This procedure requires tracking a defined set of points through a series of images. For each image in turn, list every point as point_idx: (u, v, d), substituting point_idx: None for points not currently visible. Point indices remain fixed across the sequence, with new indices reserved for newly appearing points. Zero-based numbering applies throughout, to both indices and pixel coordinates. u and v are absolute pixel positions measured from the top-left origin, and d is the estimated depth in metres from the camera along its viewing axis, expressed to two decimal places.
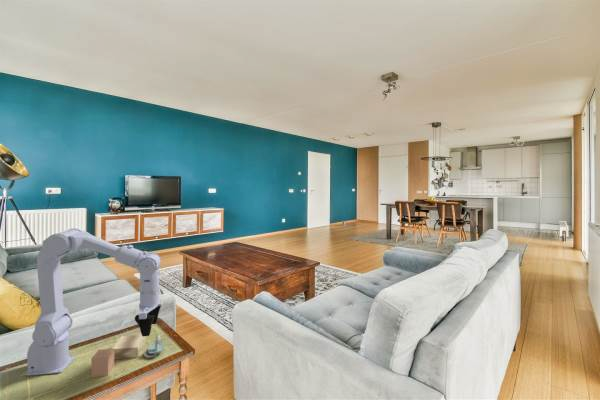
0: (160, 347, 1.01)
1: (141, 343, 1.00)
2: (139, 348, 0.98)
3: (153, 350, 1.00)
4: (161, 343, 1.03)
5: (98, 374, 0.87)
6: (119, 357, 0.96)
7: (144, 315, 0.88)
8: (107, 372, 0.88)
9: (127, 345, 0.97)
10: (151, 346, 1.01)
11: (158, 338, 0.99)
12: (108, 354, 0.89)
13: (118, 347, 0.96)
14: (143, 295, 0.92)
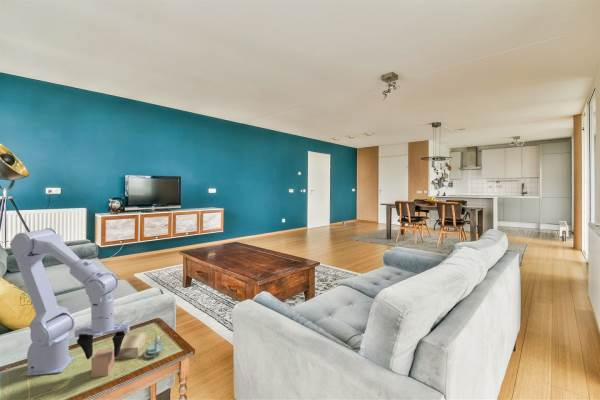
0: (159, 347, 1.01)
1: (141, 343, 1.00)
2: (139, 348, 0.98)
3: (152, 350, 0.99)
4: (160, 343, 1.03)
5: (98, 374, 0.87)
6: (119, 357, 0.96)
7: None
8: (107, 372, 0.88)
9: (127, 345, 0.97)
10: (150, 346, 1.01)
11: (157, 338, 0.99)
12: (108, 354, 0.89)
13: None
14: None
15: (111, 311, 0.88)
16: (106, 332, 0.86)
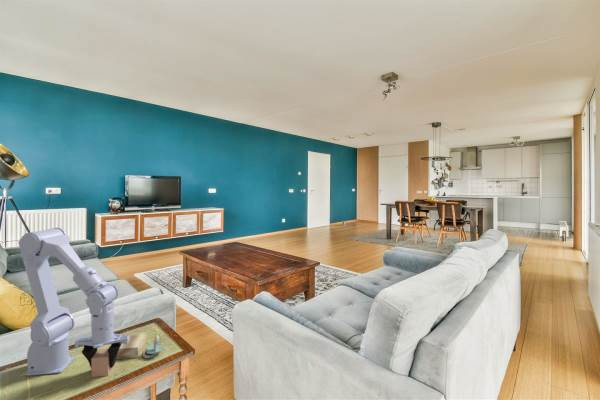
0: (159, 347, 1.01)
1: (141, 343, 1.00)
2: (139, 348, 0.98)
3: (152, 350, 0.99)
4: (160, 343, 1.03)
5: (98, 374, 0.87)
6: (119, 357, 0.96)
7: None
8: (107, 372, 0.88)
9: (127, 345, 0.97)
10: (150, 346, 1.01)
11: (157, 338, 0.99)
12: (108, 354, 0.89)
13: None
14: None
15: (111, 322, 0.88)
16: (106, 343, 0.87)
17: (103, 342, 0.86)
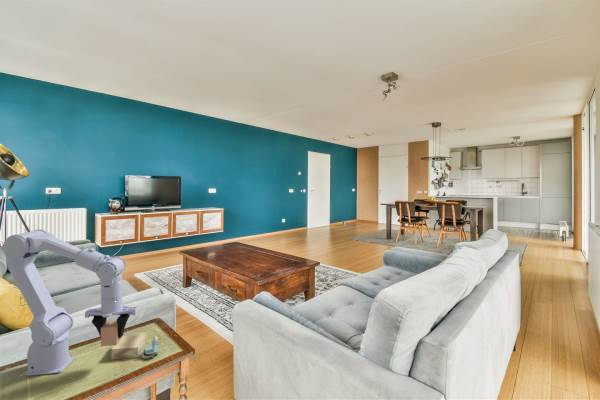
0: (157, 348, 1.01)
1: (141, 343, 1.00)
2: (139, 348, 0.98)
3: (150, 351, 0.99)
4: (158, 344, 1.02)
5: (107, 343, 0.90)
6: (119, 357, 0.96)
7: None
8: (116, 341, 0.90)
9: (127, 345, 0.97)
10: (148, 347, 1.01)
11: (155, 339, 0.99)
12: (117, 324, 0.91)
13: (118, 347, 0.96)
14: None
15: (121, 292, 0.91)
16: (115, 313, 0.89)
17: (112, 312, 0.89)
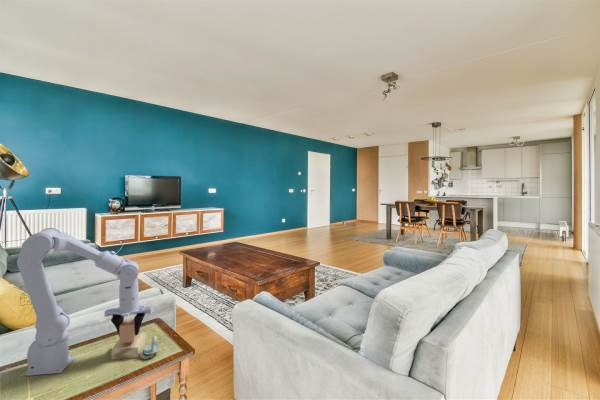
0: (156, 348, 1.01)
1: (141, 343, 1.00)
2: (139, 348, 0.98)
3: (149, 351, 0.99)
4: (157, 344, 1.02)
5: (125, 340, 0.97)
6: (119, 357, 0.96)
7: None
8: (133, 338, 0.98)
9: (127, 345, 0.97)
10: (147, 347, 1.01)
11: (154, 339, 0.99)
12: (134, 323, 0.99)
13: (118, 347, 0.96)
14: None
15: (138, 292, 1.00)
16: (132, 312, 0.97)
17: (130, 311, 0.97)
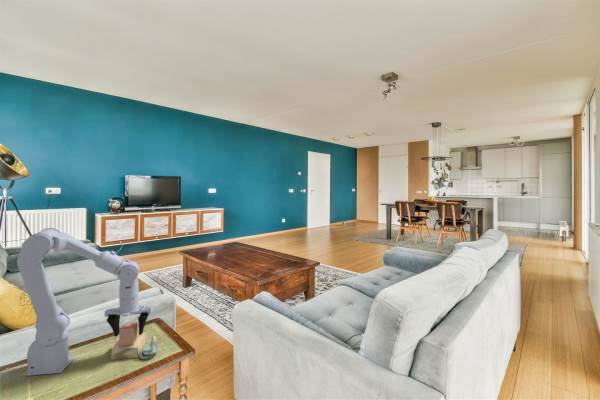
0: (156, 348, 1.01)
1: (141, 343, 1.00)
2: (139, 348, 0.98)
3: (148, 351, 0.99)
4: (157, 344, 1.02)
5: (125, 343, 0.97)
6: (119, 357, 0.96)
7: None
8: (133, 341, 0.98)
9: (127, 345, 0.97)
10: (146, 347, 1.00)
11: (153, 339, 0.98)
12: (134, 326, 0.99)
13: (118, 347, 0.96)
14: None
15: (138, 292, 1.00)
16: (132, 312, 0.97)
17: (130, 311, 0.97)
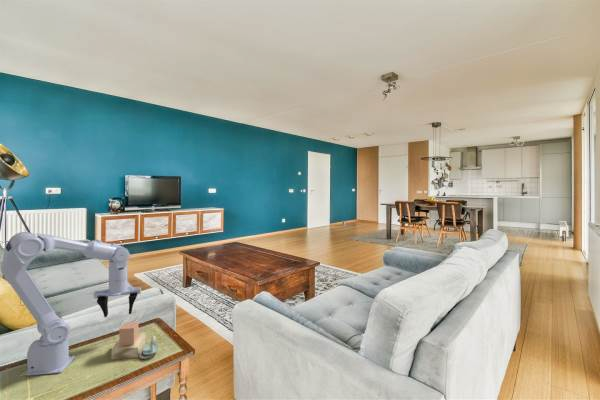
0: (155, 348, 1.01)
1: (141, 343, 1.00)
2: (139, 348, 0.98)
3: (148, 351, 0.99)
4: (156, 344, 1.02)
5: (125, 343, 0.97)
6: (119, 357, 0.96)
7: None
8: (133, 341, 0.98)
9: (127, 345, 0.97)
10: (146, 347, 1.00)
11: (153, 339, 0.98)
12: (134, 326, 0.99)
13: (118, 347, 0.96)
14: None
15: None
16: (123, 292, 1.03)
17: (120, 292, 1.02)
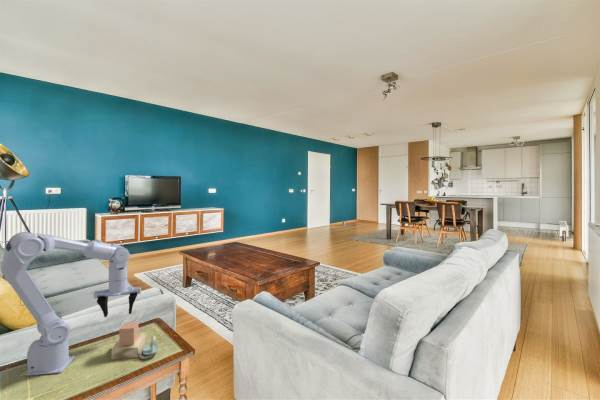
0: (155, 348, 1.01)
1: (141, 343, 1.00)
2: (139, 348, 0.98)
3: (148, 351, 0.99)
4: (156, 344, 1.02)
5: (125, 343, 0.97)
6: (119, 357, 0.96)
7: None
8: (133, 341, 0.98)
9: (127, 345, 0.97)
10: (146, 347, 1.00)
11: (153, 339, 0.98)
12: (134, 326, 0.99)
13: (118, 347, 0.96)
14: None
15: None
16: (123, 292, 1.03)
17: (120, 292, 1.02)
